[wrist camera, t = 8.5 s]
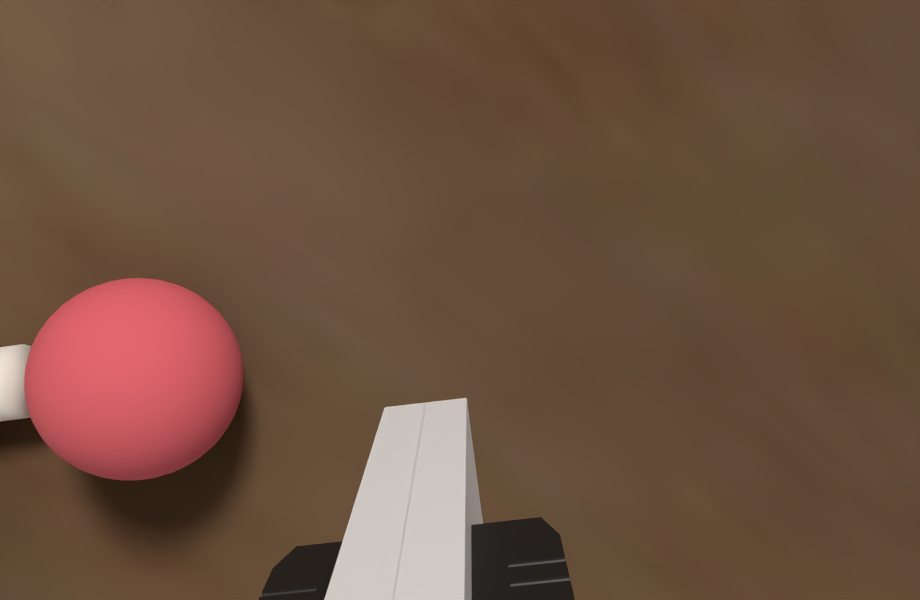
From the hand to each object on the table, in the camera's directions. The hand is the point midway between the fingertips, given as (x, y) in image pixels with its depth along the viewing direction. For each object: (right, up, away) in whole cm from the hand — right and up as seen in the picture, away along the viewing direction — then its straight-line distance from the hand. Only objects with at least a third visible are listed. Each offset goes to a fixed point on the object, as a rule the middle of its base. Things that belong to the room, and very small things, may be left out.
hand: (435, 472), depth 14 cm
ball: (-9, +1, +9) cm, 13 cm away
